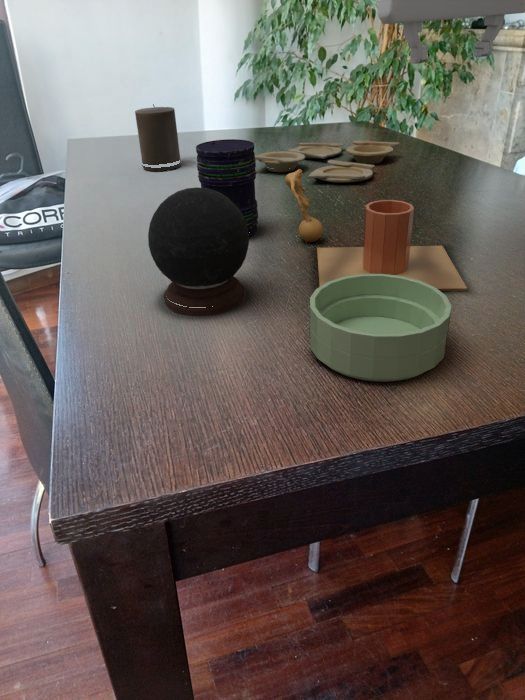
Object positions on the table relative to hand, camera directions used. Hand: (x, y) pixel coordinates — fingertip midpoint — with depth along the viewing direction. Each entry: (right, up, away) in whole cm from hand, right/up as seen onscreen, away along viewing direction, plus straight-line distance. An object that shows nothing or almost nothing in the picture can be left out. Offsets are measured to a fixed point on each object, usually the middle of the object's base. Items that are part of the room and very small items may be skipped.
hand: (450, 59), depth 74 cm
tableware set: (-8, +8, +66) cm, 67 cm away
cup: (-6, -25, +11) cm, 28 cm away
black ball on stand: (-33, -31, +5) cm, 45 cm away
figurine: (-17, -20, +22) cm, 34 cm away
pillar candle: (-50, +9, +72) cm, 88 cm away
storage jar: (-30, -17, +28) cm, 44 cm away
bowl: (-11, -38, -8) cm, 40 cm away
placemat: (-6, -26, +11) cm, 29 cm away
